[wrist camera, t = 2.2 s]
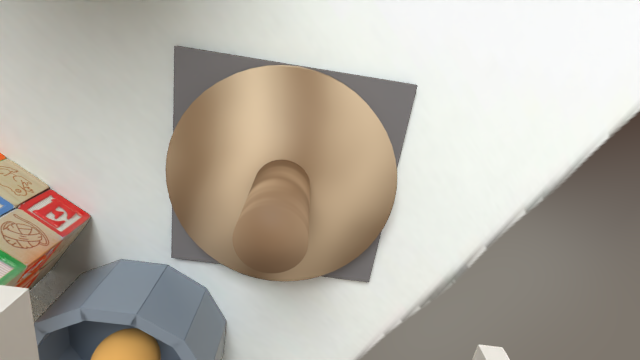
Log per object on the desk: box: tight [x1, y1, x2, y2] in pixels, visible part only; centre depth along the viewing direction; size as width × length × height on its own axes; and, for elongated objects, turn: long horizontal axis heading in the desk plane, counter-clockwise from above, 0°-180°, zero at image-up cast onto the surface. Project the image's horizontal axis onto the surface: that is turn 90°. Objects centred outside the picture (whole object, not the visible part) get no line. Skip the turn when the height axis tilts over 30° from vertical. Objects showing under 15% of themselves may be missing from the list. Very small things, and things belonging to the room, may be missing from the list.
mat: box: [171, 46, 417, 282], centre depth 24 cm, size 14×14×1 cm
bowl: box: [34, 259, 226, 360], centre depth 26 cm, size 12×12×5 cm
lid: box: [166, 65, 397, 281], centre depth 20 cm, size 14×14×8 cm
